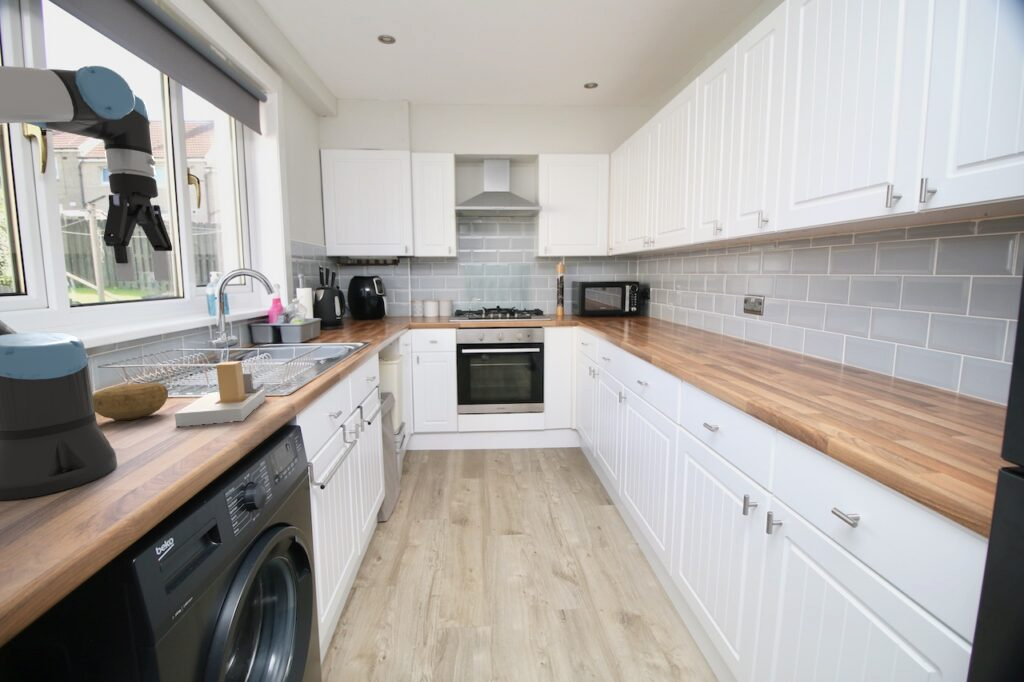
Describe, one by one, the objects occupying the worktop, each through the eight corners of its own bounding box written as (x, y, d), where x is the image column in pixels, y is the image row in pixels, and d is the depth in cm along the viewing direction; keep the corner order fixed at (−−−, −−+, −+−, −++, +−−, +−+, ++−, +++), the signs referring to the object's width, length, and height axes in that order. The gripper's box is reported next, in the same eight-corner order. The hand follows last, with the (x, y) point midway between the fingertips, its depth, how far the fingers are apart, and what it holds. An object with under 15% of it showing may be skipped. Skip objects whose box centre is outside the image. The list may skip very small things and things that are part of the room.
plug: (240, 413, 107) (235, 364, 105) (221, 414, 106) (216, 365, 104) (246, 408, 111) (241, 361, 109) (228, 410, 110) (222, 362, 108)
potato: (99, 418, 105) (94, 384, 104) (173, 408, 112) (169, 377, 111) (86, 430, 97) (80, 394, 96) (167, 418, 104) (162, 385, 102)
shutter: (255, 392, 114) (253, 373, 113) (225, 394, 112) (223, 375, 112) (263, 385, 121) (261, 368, 120) (235, 387, 119) (233, 370, 118)
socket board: (242, 421, 101) (240, 408, 100) (176, 426, 98) (174, 413, 97) (265, 400, 118) (264, 389, 118) (210, 404, 115) (208, 392, 115)
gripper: (116, 161, 80) (132, 280, 83) (182, 188, 104) (193, 280, 107) (66, 159, 78) (84, 281, 82) (145, 187, 102) (157, 280, 106)
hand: (146, 280), depth 94 cm, fingers open, 13 cm apart
